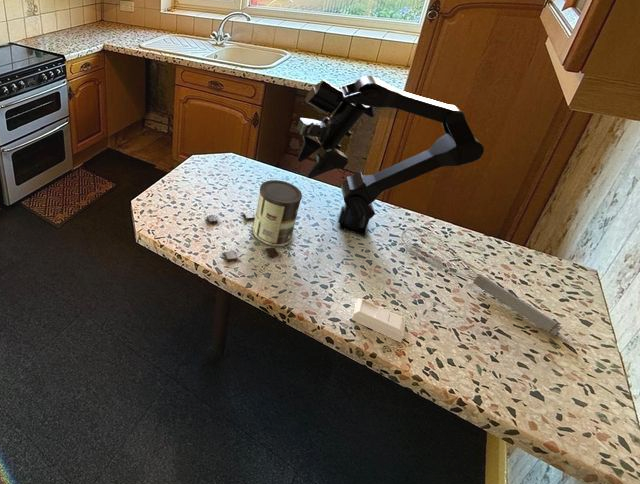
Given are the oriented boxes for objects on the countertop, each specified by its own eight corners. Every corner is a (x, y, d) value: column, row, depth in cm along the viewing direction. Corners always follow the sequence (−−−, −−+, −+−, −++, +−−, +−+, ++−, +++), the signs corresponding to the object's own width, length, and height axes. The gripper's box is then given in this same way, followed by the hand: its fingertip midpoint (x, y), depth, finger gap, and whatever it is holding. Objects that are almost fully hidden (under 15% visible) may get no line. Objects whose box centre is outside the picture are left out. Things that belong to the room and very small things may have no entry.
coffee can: (287, 223, 113) (297, 181, 106) (295, 248, 104) (306, 205, 97) (250, 218, 114) (257, 177, 108) (254, 243, 105) (262, 200, 99)
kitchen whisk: (564, 351, 79) (580, 330, 76) (392, 245, 105) (399, 226, 102) (575, 337, 81) (591, 316, 79) (405, 237, 108) (413, 219, 105)
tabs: (251, 214, 116) (251, 212, 116) (278, 256, 101) (278, 254, 101) (206, 218, 115) (207, 215, 114) (227, 261, 100) (227, 259, 99)
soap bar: (400, 342, 80) (404, 334, 79) (351, 319, 85) (354, 311, 84) (402, 325, 84) (406, 316, 83) (355, 303, 89) (358, 295, 87)
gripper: (303, 95, 108) (270, 141, 114) (326, 120, 91) (285, 172, 97) (338, 114, 109) (303, 158, 115) (367, 142, 92) (324, 192, 98)
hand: (303, 169), depth 106 cm, fingers open, 9 cm apart
